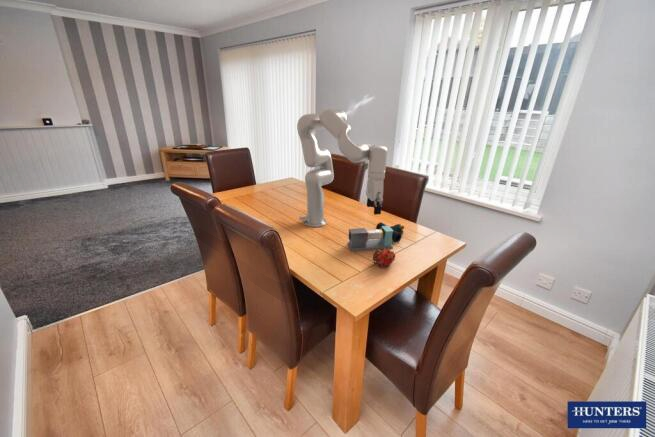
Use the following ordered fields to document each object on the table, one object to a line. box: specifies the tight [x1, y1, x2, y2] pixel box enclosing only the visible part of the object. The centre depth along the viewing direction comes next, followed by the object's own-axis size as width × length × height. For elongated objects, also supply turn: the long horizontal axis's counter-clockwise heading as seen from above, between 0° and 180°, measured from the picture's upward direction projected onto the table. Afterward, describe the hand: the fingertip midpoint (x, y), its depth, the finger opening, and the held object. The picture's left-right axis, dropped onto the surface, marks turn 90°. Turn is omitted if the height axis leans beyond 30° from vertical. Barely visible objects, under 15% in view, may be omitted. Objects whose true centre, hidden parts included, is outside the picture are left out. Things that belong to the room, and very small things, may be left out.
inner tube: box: [351, 229, 383, 240], centre depth 134 cm, size 15×4×4 cm, turn 101°
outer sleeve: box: [348, 227, 368, 248], centre depth 134 cm, size 8×5×8 cm, turn 101°
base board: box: [346, 239, 394, 253], centre depth 137 cm, size 21×8×1 cm, turn 101°
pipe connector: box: [375, 222, 405, 243], centre depth 149 cm, size 12×5×15 cm
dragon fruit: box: [372, 248, 396, 268], centre depth 121 cm, size 8×8×12 cm
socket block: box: [380, 225, 394, 246], centre depth 136 cm, size 4×6×8 cm, turn 11°
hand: (373, 210), depth 129 cm, fingers open, 9 cm apart
